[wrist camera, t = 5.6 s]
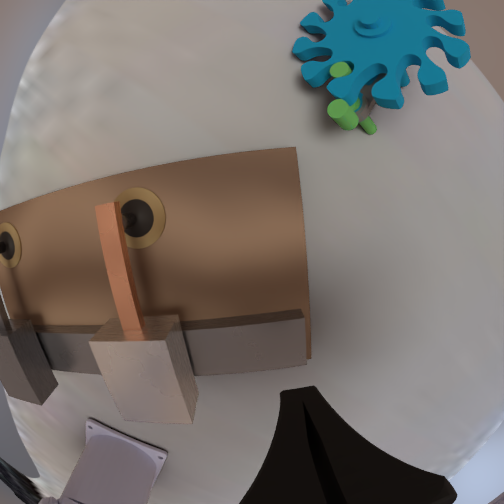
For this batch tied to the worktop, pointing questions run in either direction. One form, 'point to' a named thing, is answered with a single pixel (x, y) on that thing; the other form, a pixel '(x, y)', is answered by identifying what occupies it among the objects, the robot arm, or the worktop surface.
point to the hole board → (165, 243)
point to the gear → (378, 53)
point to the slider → (140, 341)
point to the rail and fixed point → (195, 336)
